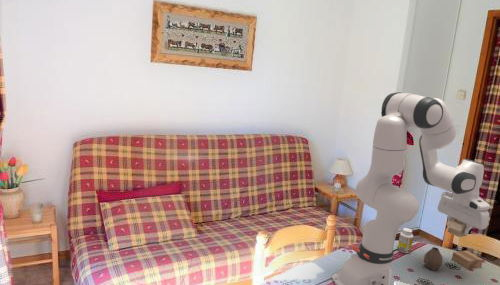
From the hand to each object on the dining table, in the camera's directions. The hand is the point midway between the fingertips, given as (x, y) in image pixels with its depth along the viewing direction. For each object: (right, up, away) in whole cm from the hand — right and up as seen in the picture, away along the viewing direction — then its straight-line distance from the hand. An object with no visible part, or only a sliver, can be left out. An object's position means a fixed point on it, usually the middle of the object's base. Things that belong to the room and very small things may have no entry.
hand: (458, 230), depth 155 cm
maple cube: (0, -2, 0) cm, 2 cm away
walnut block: (+8, -17, +8) cm, 20 cm away
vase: (-10, -16, +2) cm, 19 cm away
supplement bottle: (-16, -13, +15) cm, 26 cm away
